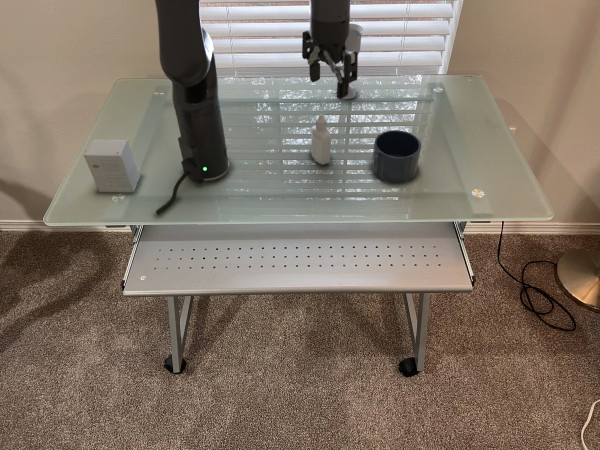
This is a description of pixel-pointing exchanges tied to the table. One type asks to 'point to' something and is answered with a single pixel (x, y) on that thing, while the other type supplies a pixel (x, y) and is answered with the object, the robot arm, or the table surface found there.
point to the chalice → (353, 49)
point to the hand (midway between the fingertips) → (328, 88)
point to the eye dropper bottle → (320, 141)
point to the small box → (112, 165)
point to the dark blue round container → (395, 156)
